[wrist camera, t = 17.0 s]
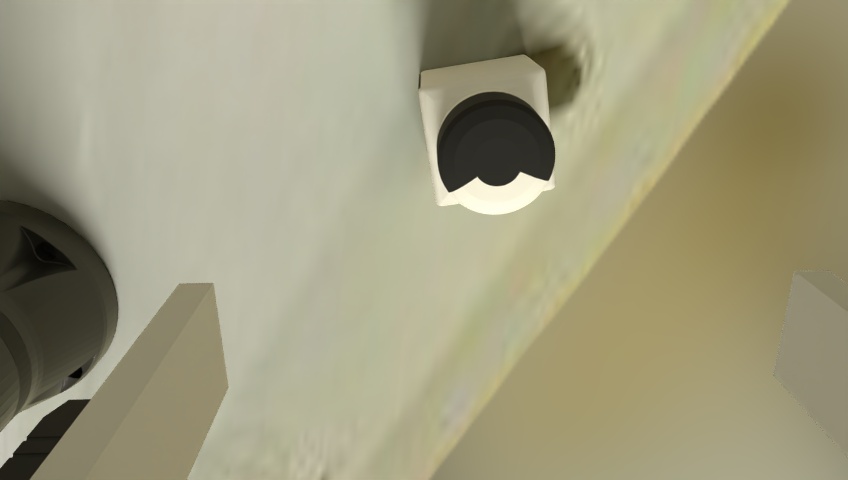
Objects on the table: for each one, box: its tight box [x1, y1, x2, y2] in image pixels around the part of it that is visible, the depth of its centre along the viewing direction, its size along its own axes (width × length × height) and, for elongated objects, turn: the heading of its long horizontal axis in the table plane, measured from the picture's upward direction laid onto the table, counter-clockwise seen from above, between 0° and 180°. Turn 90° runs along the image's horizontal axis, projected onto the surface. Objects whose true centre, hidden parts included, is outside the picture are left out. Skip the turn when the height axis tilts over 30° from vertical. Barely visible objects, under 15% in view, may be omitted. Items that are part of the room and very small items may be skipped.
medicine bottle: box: [418, 55, 556, 214], centre depth 39 cm, size 7×7×12 cm
